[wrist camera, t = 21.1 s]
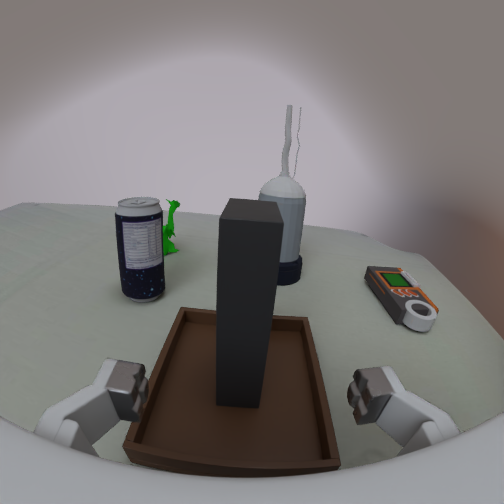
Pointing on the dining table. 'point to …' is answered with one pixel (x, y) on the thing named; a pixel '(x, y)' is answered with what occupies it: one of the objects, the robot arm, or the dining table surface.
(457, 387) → the dining table surface
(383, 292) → the electronic device
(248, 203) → the tall dark grey prism
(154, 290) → the beverage can
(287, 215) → the humidifier
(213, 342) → the tray
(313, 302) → the dining table surface
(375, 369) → the robot arm
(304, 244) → the dining table surface
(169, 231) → the figurine
